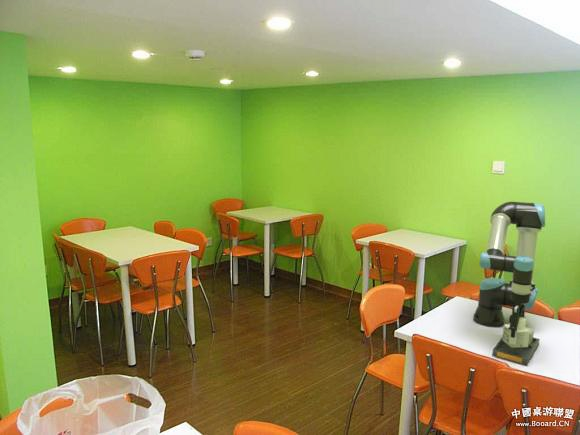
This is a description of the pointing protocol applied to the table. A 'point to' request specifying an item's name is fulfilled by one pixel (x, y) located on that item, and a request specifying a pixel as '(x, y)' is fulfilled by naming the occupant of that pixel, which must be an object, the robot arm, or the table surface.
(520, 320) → the container
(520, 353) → the rack tray
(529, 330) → the filler block
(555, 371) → the table surface
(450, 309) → the table surface
